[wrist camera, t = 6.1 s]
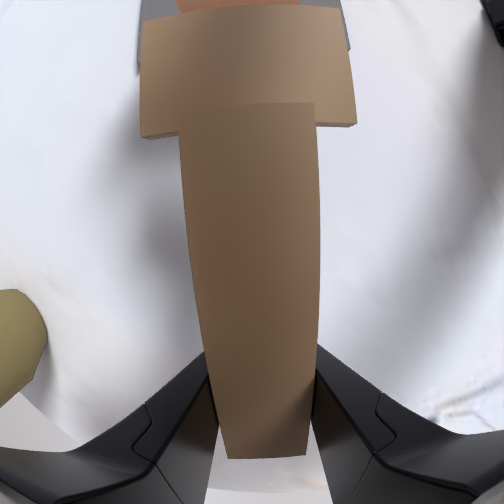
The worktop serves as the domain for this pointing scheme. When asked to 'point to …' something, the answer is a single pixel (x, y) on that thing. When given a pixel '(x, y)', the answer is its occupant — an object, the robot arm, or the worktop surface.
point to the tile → (226, 3)
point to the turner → (252, 197)
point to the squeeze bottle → (18, 342)
